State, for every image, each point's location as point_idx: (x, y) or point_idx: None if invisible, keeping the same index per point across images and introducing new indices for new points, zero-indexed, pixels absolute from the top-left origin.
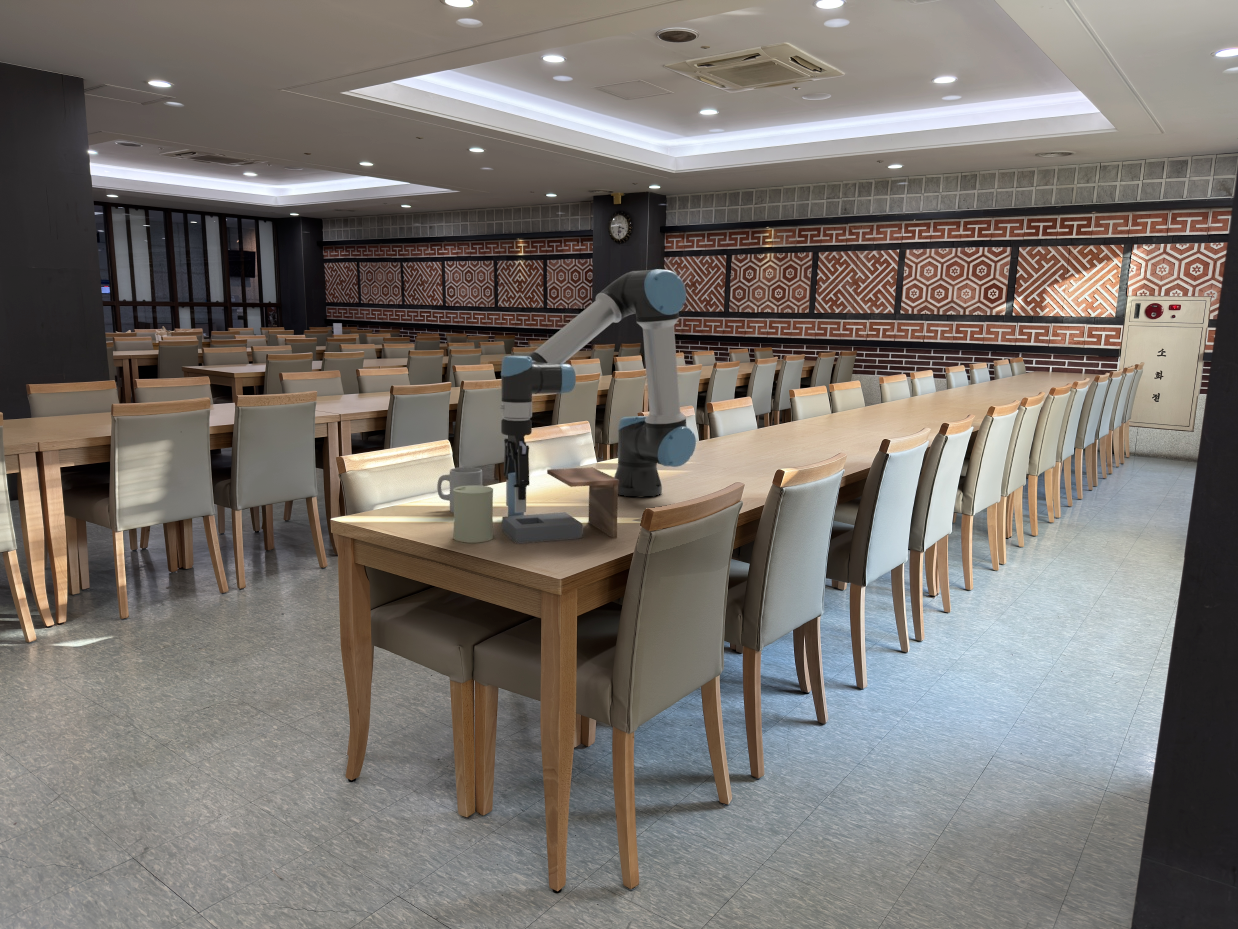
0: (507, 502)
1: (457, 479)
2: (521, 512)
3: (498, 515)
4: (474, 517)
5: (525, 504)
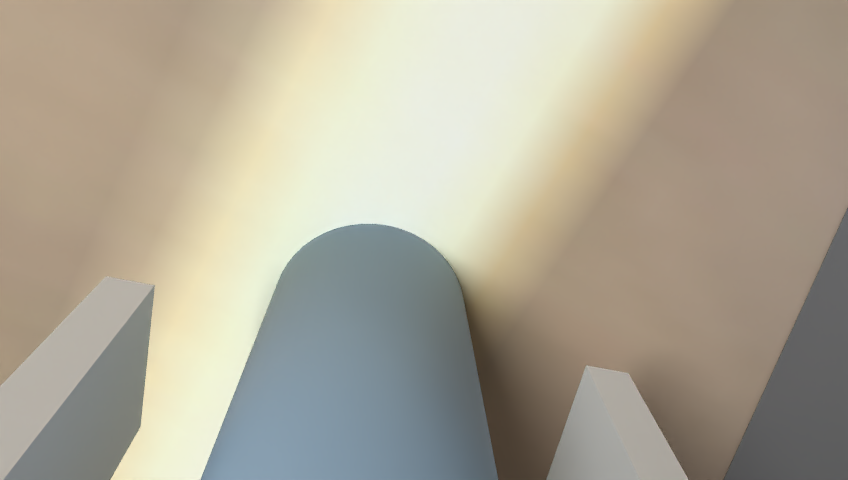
0: (121, 454)
1: None
2: (471, 348)
3: None
4: None
5: (666, 456)
